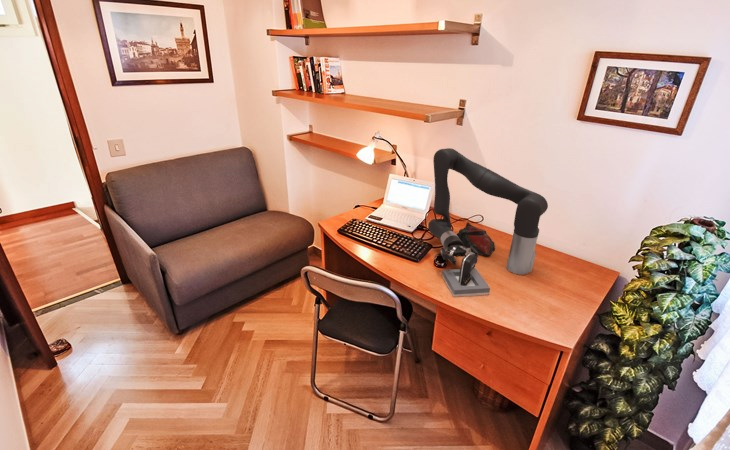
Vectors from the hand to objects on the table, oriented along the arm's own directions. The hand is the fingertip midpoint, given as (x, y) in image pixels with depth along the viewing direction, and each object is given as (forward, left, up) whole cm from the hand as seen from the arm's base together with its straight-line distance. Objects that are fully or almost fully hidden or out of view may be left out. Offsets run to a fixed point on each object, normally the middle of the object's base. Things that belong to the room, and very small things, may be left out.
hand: (465, 262), depth 143 cm
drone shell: (-17, -30, -10) cm, 36 cm away
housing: (0, +2, -9) cm, 9 cm away
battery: (0, +2, -8) cm, 8 cm away
